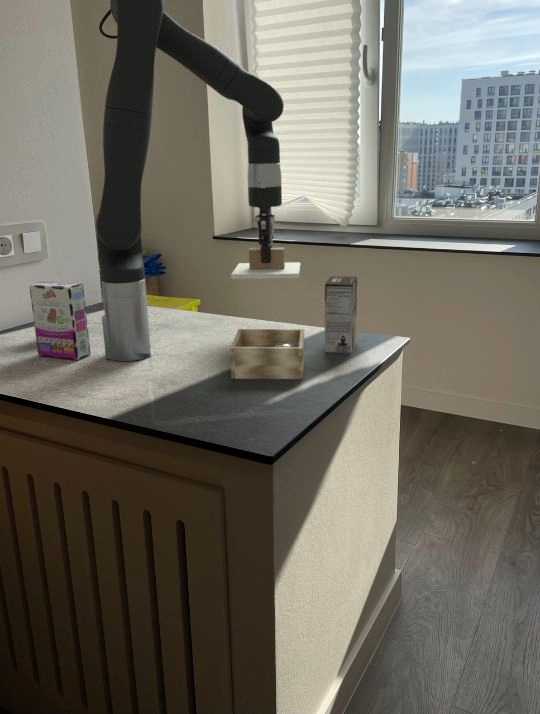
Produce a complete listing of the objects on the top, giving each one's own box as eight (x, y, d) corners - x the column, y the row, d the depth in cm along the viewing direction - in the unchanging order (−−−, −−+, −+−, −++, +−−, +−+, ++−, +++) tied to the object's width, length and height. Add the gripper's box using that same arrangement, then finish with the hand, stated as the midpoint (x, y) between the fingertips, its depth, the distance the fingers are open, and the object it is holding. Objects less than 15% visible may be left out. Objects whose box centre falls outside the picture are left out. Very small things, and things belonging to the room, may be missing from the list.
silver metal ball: (274, 365, 132) (274, 347, 131) (275, 359, 136) (275, 341, 135) (294, 365, 132) (294, 347, 131) (294, 359, 136) (294, 341, 135)
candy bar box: (92, 354, 145) (84, 283, 140) (77, 361, 140) (69, 287, 135) (52, 350, 149) (43, 280, 144) (37, 356, 144) (27, 284, 140)
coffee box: (328, 343, 150) (329, 275, 145) (356, 344, 149) (357, 276, 144) (323, 355, 141) (324, 283, 136) (353, 356, 140) (354, 284, 135)
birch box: (231, 382, 126) (230, 348, 124) (239, 360, 139) (238, 329, 137) (303, 382, 125) (302, 348, 123) (304, 360, 138) (304, 329, 136)
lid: (231, 278, 143) (230, 254, 142) (239, 267, 158) (238, 244, 156) (298, 278, 142) (298, 253, 140) (300, 266, 156) (300, 243, 155)
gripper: (251, 183, 151) (253, 256, 156) (244, 186, 137) (247, 266, 143) (283, 182, 150) (284, 256, 155) (279, 185, 137) (281, 266, 142)
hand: (266, 261), depth 149 cm, fingers closed on lid, 3 cm apart
